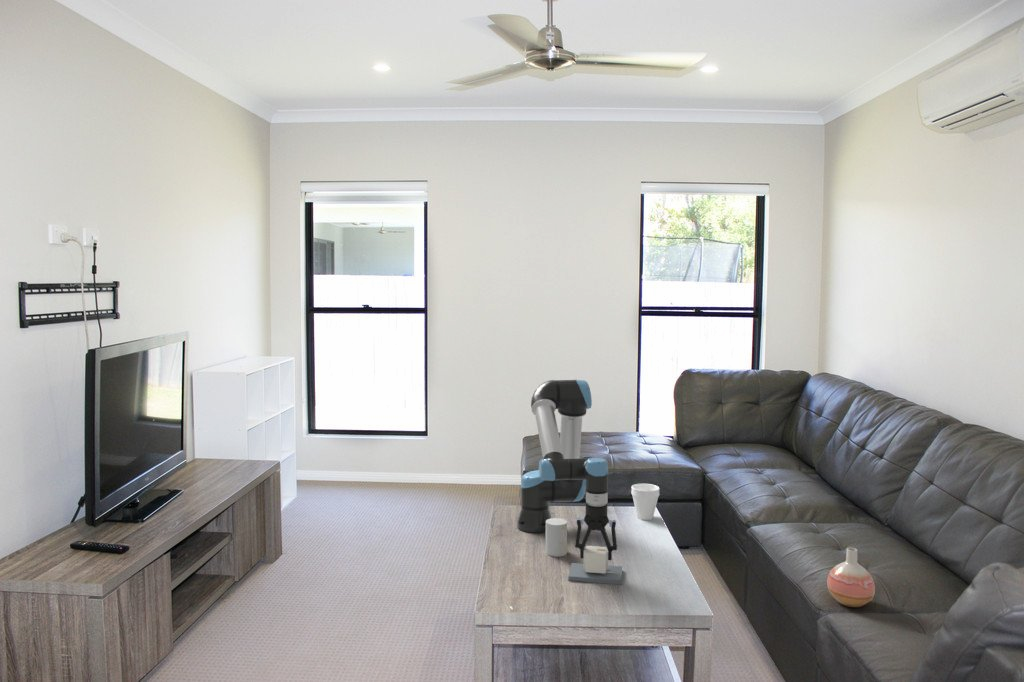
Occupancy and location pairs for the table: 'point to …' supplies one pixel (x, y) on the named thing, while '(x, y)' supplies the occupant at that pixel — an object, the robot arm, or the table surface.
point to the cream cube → (595, 559)
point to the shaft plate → (595, 575)
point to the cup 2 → (645, 500)
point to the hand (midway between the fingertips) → (595, 567)
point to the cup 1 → (556, 537)
